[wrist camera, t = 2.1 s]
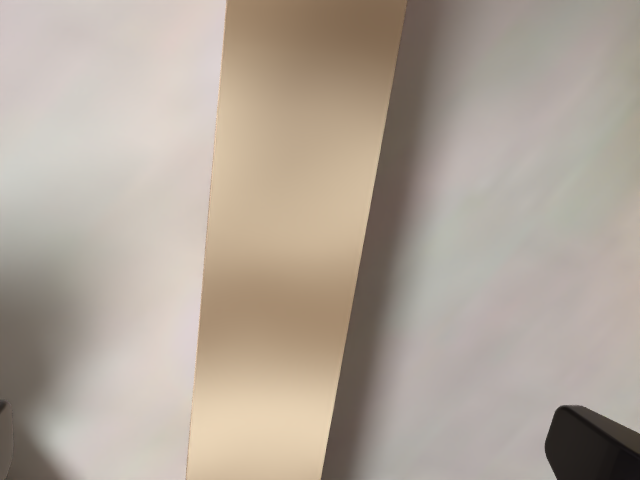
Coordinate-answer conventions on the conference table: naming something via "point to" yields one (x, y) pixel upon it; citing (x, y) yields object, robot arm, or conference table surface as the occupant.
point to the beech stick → (286, 228)
